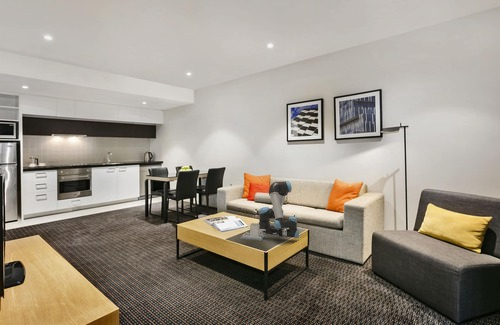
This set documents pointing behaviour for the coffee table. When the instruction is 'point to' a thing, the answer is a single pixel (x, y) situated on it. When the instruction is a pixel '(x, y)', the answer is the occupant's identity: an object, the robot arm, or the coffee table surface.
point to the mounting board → (252, 237)
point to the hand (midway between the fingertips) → (259, 230)
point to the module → (254, 230)
